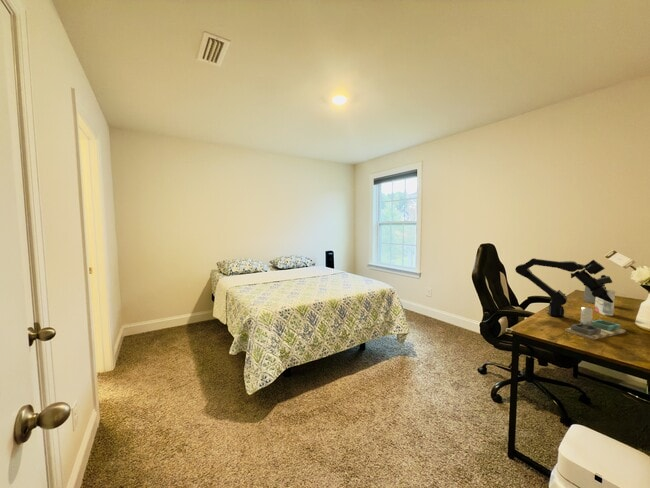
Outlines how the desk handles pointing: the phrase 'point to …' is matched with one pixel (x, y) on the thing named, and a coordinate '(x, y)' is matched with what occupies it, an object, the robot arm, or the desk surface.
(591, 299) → the skincare box
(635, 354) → the desk surface
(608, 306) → the billet
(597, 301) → the ink cartridge box
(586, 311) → the block
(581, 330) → the pallet
